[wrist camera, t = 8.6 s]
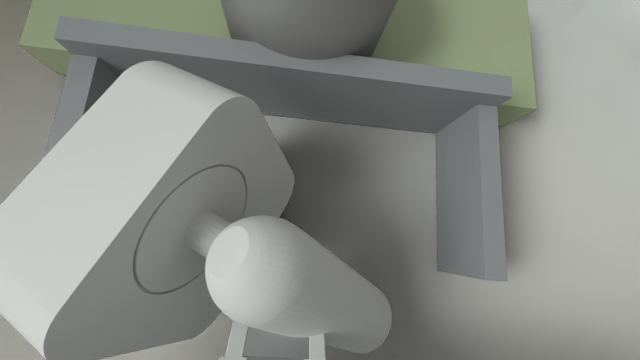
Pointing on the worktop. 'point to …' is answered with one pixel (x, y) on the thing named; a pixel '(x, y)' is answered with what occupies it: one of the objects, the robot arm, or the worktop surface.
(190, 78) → the wall hook
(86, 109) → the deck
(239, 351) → the robot arm
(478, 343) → the worktop surface
